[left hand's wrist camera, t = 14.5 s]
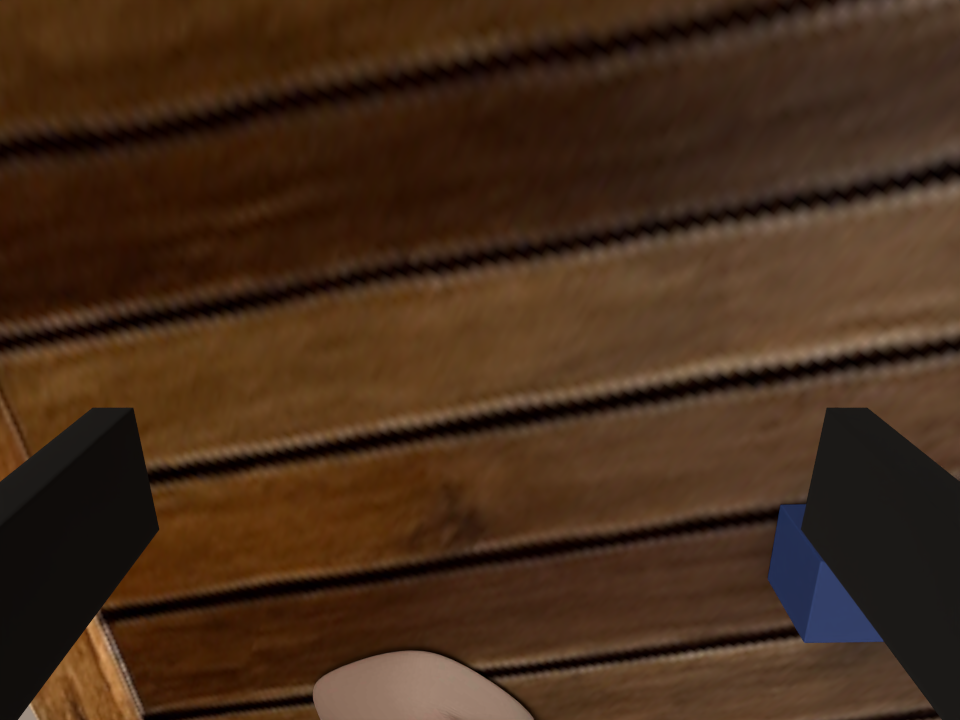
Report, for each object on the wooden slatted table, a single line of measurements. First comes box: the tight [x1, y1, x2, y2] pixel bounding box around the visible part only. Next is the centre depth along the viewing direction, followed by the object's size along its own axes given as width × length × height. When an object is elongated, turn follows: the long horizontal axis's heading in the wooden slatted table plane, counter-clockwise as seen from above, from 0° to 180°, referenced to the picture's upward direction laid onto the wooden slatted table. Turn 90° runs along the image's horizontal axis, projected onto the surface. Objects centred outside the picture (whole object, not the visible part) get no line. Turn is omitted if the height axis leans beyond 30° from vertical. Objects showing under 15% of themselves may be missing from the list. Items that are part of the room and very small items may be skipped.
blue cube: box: [768, 504, 884, 643], centre depth 34 cm, size 5×5×5 cm
